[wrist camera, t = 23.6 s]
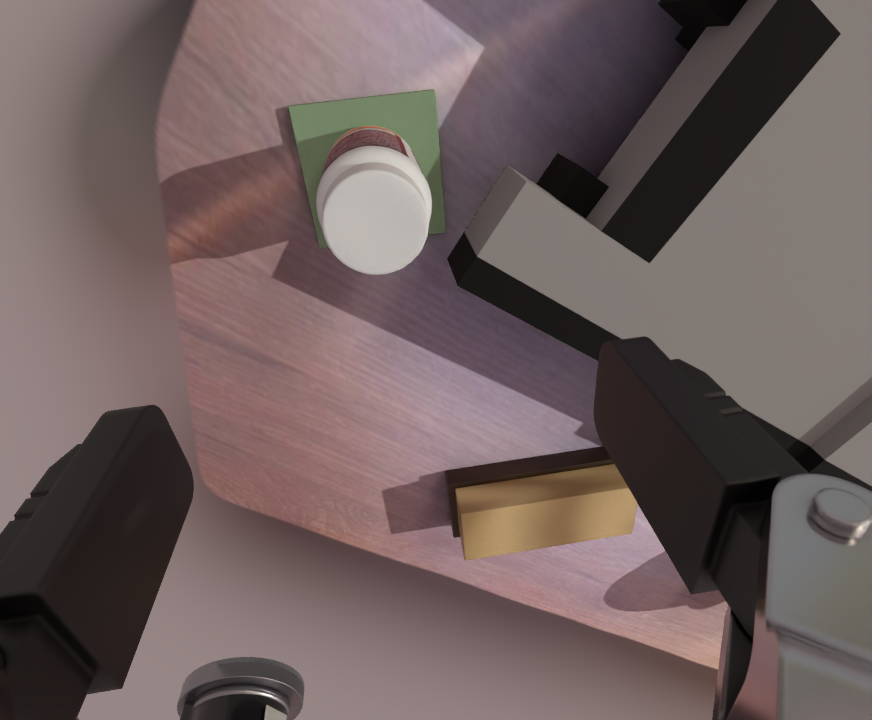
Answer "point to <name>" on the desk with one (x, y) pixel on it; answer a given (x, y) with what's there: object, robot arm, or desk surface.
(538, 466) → the scrub brush
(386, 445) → the desk surface
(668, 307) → the game console
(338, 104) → the green square plate
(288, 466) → the desk surface
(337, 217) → the pill bottle
